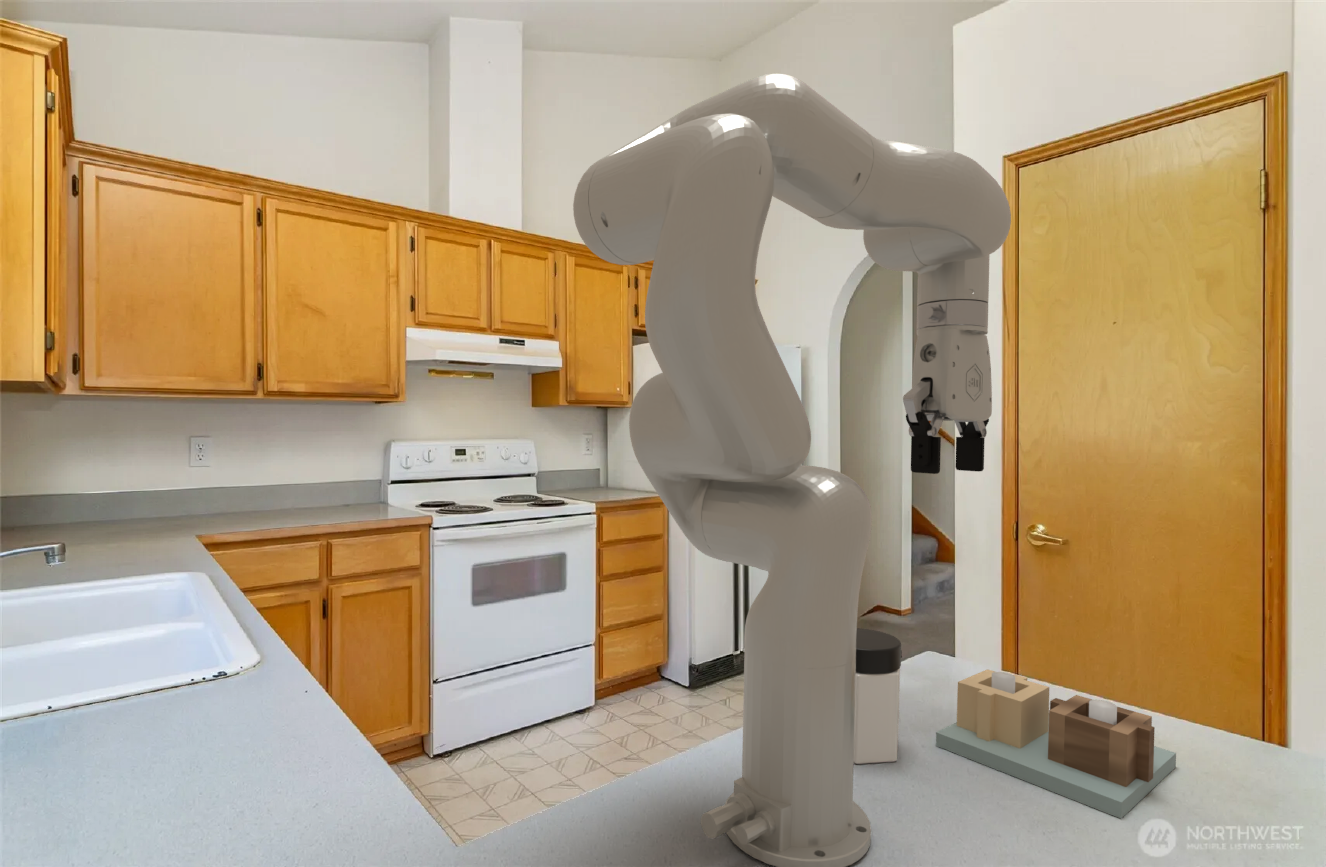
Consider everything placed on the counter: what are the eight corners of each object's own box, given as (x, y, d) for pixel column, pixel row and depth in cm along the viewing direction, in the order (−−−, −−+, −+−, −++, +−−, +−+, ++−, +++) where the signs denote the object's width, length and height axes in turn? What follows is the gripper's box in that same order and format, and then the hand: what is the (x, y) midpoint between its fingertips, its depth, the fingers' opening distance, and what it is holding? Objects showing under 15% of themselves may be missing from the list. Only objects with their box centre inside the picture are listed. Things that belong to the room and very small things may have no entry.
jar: (917, 751, 76) (920, 641, 76) (874, 773, 71) (876, 656, 70) (848, 723, 83) (850, 622, 83) (804, 741, 78) (806, 634, 77)
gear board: (1121, 818, 63) (1123, 736, 63) (936, 745, 77) (937, 678, 77) (1175, 767, 73) (1177, 696, 73) (1003, 710, 87) (1004, 651, 87)
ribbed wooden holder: (1138, 791, 65) (1139, 738, 65) (1037, 755, 72) (1038, 707, 72) (1162, 769, 70) (1163, 719, 70) (1065, 737, 77) (1066, 692, 76)
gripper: (943, 308, 71) (939, 476, 71) (1019, 326, 82) (1016, 472, 82) (879, 316, 77) (875, 471, 77) (958, 332, 88) (955, 468, 88)
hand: (948, 471), depth 80 cm, fingers open, 9 cm apart
